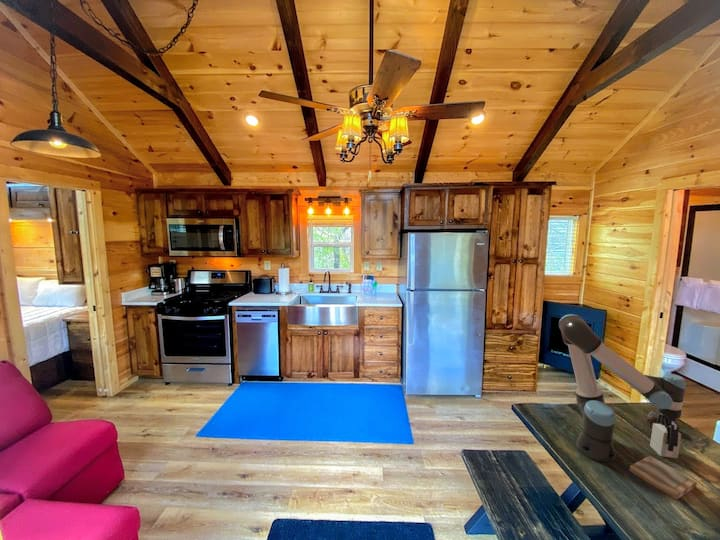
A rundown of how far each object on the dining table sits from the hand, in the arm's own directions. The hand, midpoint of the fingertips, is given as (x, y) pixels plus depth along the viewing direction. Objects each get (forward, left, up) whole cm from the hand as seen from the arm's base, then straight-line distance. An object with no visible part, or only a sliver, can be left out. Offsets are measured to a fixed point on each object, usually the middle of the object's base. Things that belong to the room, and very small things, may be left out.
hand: (663, 449), depth 149 cm
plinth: (-8, -21, -1) cm, 23 cm away
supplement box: (0, 0, -2) cm, 2 cm away
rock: (+7, +24, -2) cm, 25 cm away
